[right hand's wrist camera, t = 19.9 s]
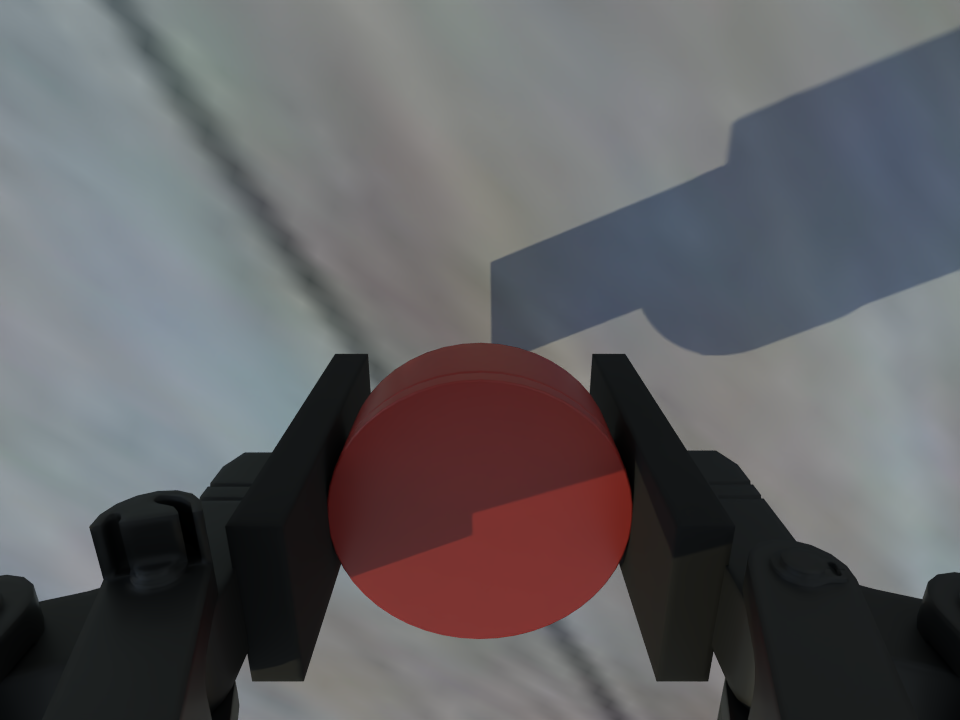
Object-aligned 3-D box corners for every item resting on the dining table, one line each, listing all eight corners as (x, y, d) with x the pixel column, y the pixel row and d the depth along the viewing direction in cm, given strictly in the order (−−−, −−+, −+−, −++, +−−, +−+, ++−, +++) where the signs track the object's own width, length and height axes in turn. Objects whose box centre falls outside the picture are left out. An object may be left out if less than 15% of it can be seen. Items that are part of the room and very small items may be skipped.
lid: (667, 445, 12) (698, 498, 10) (500, 611, 13) (503, 682, 12) (454, 285, 11) (449, 315, 9) (297, 486, 12) (268, 543, 11)
